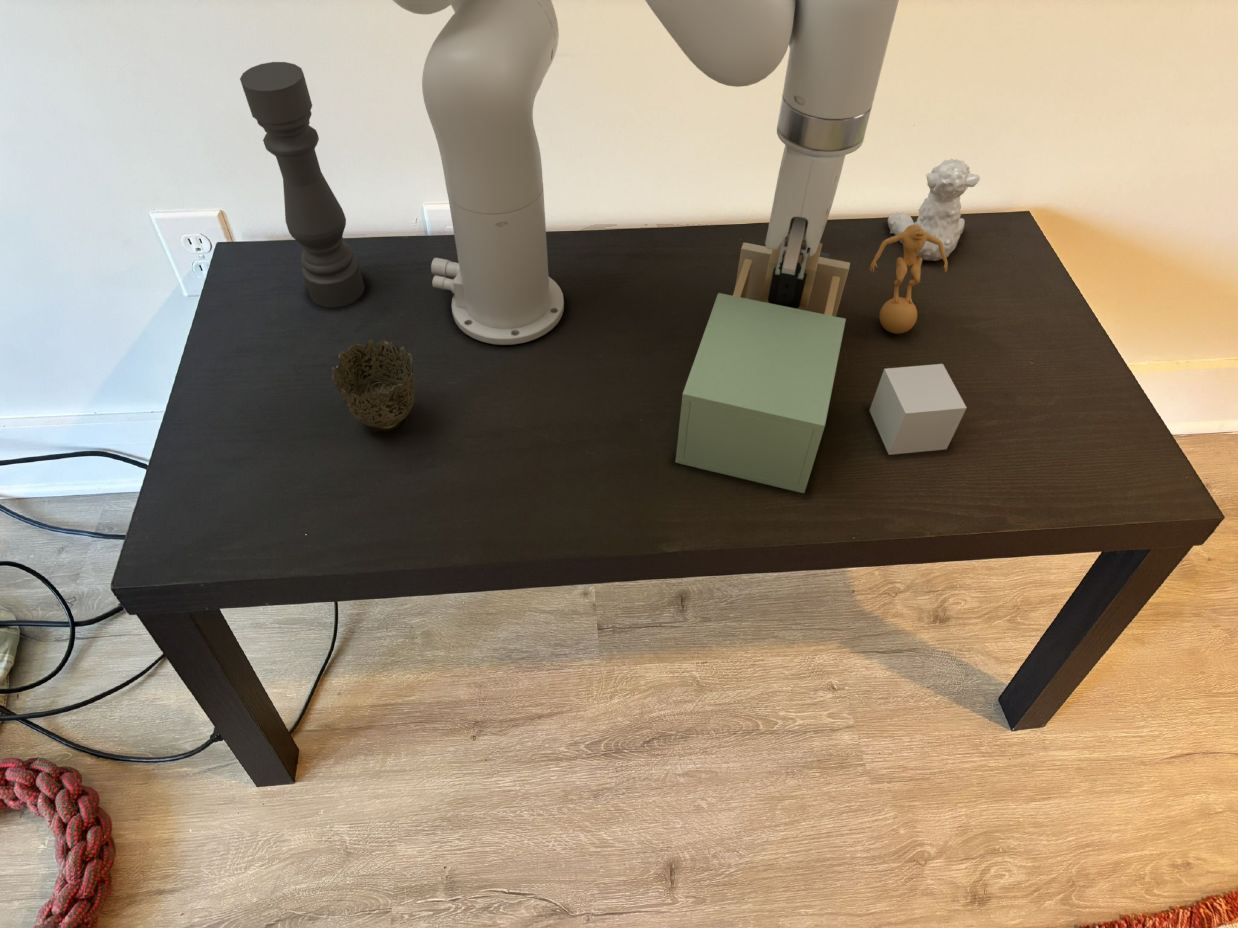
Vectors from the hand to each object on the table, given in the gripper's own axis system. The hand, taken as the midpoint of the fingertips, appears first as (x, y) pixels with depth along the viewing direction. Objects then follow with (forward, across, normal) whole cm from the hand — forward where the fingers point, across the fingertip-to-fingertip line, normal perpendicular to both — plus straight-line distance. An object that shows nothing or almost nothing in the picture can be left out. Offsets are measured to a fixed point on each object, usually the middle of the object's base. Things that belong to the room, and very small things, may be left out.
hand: (788, 286), depth 86 cm
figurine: (+9, -8, +12) cm, 17 cm away
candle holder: (+8, +6, -50) cm, 51 cm away
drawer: (+7, -1, 0) cm, 8 cm away
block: (0, 0, 0) cm, 0 cm away
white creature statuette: (+9, -24, +15) cm, 29 cm away
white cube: (+9, +8, +15) cm, 19 cm away
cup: (+8, +23, -35) cm, 43 cm away
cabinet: (+8, +12, 0) cm, 15 cm away
